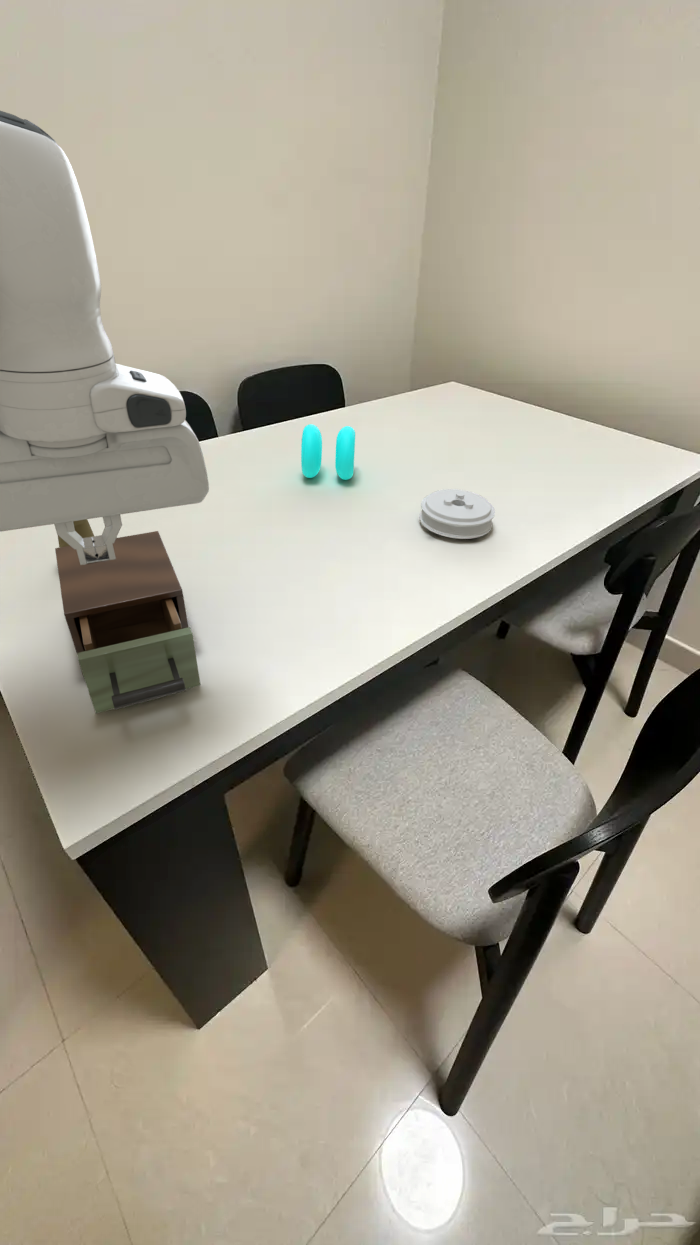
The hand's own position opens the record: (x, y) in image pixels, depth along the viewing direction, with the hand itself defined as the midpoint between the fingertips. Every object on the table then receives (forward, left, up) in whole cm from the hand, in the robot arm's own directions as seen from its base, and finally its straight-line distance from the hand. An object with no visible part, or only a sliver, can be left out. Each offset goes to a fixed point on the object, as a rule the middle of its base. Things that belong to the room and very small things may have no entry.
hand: (97, 559), depth 51 cm
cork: (-2, +34, -21) cm, 40 cm away
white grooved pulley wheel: (+58, +25, -21) cm, 66 cm away
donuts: (+45, +51, -21) cm, 71 cm away
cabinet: (+2, +16, -21) cm, 26 cm away
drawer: (+2, +6, -20) cm, 21 cm away
